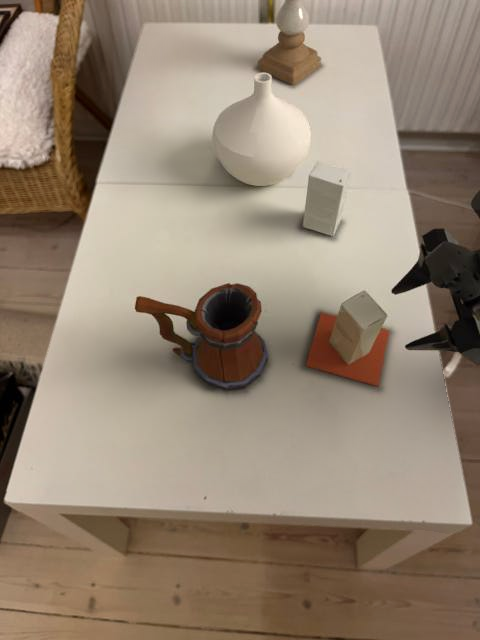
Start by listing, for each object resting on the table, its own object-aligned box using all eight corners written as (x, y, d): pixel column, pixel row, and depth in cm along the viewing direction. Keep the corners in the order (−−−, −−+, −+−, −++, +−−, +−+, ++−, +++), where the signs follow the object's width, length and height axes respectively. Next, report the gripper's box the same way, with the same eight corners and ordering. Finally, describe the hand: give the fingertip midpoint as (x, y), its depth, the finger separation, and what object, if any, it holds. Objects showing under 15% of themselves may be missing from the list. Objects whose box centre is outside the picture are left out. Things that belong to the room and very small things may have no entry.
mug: (144, 384, 73) (121, 334, 60) (159, 319, 79) (142, 261, 66) (263, 396, 72) (267, 347, 59) (270, 329, 78) (274, 272, 65)
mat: (388, 331, 77) (389, 330, 77) (377, 386, 72) (378, 385, 72) (320, 313, 79) (321, 312, 79) (305, 366, 74) (305, 364, 74)
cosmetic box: (340, 221, 90) (352, 169, 80) (333, 237, 88) (344, 186, 78) (309, 211, 91) (317, 159, 81) (301, 227, 89) (308, 175, 79)
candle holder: (321, 65, 116) (336, -53, 96) (293, 85, 112) (302, -33, 92) (285, 48, 120) (292, -68, 100) (256, 68, 116) (258, -50, 96)
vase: (321, 186, 95) (337, 96, 78) (232, 211, 91) (229, 122, 75) (285, 130, 104) (291, 38, 88) (203, 151, 101) (194, 60, 84)
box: (327, 341, 76) (339, 301, 66) (349, 328, 77) (363, 287, 68) (349, 367, 73) (363, 329, 64) (371, 353, 75) (389, 314, 65)
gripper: (462, 179, 59) (355, 243, 69) (513, 306, 49) (380, 361, 59) (499, 222, 66) (397, 275, 75) (551, 342, 56) (425, 386, 65)
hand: (399, 319), depth 68 cm, fingers open, 9 cm apart
